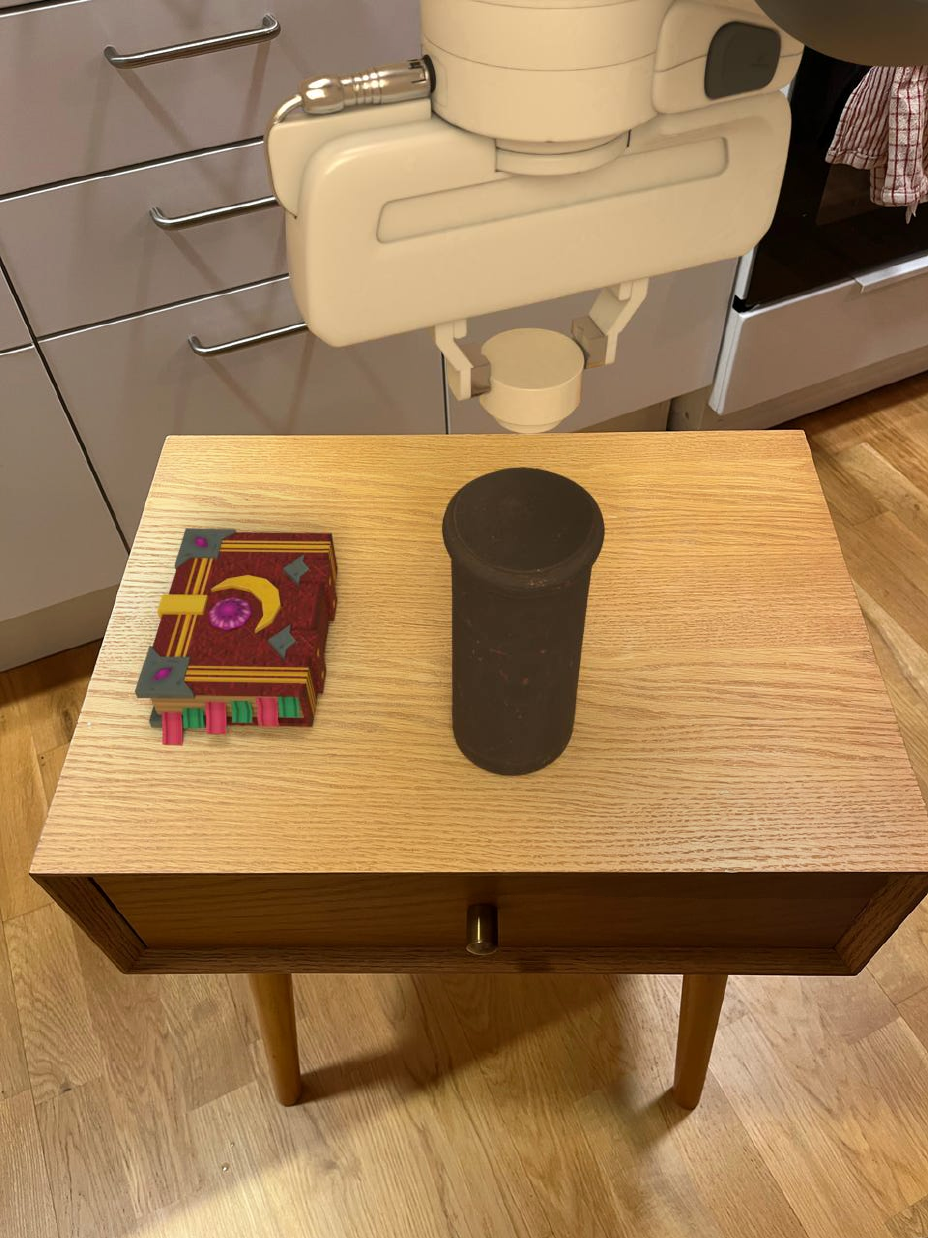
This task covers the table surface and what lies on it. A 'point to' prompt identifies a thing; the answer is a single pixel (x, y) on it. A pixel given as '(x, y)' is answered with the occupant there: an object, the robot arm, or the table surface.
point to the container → (518, 613)
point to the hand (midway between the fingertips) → (531, 374)
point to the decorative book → (241, 632)
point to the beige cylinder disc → (532, 379)
